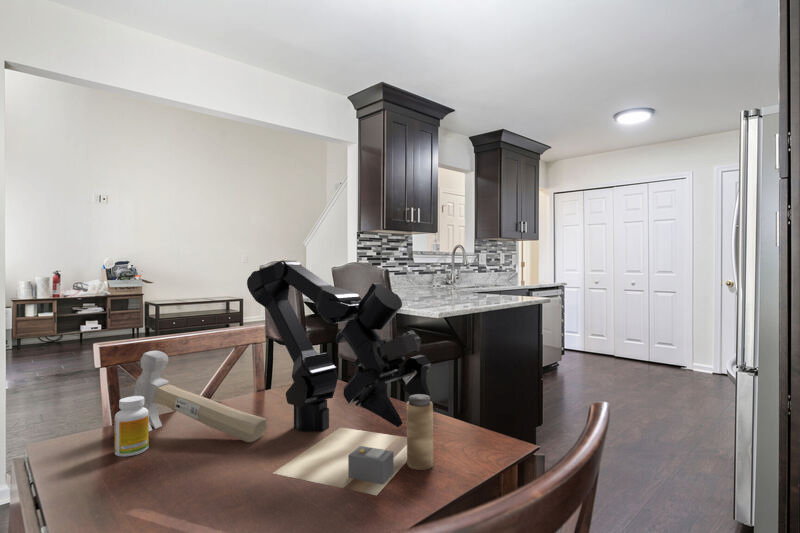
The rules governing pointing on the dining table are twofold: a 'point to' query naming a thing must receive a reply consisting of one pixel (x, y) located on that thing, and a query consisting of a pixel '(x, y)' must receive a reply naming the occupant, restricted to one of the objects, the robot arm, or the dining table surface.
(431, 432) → the marker peg
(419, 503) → the dining table surface
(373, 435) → the plywood panel
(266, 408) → the dining table surface
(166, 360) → the hammer
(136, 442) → the supplement bottle
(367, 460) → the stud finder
